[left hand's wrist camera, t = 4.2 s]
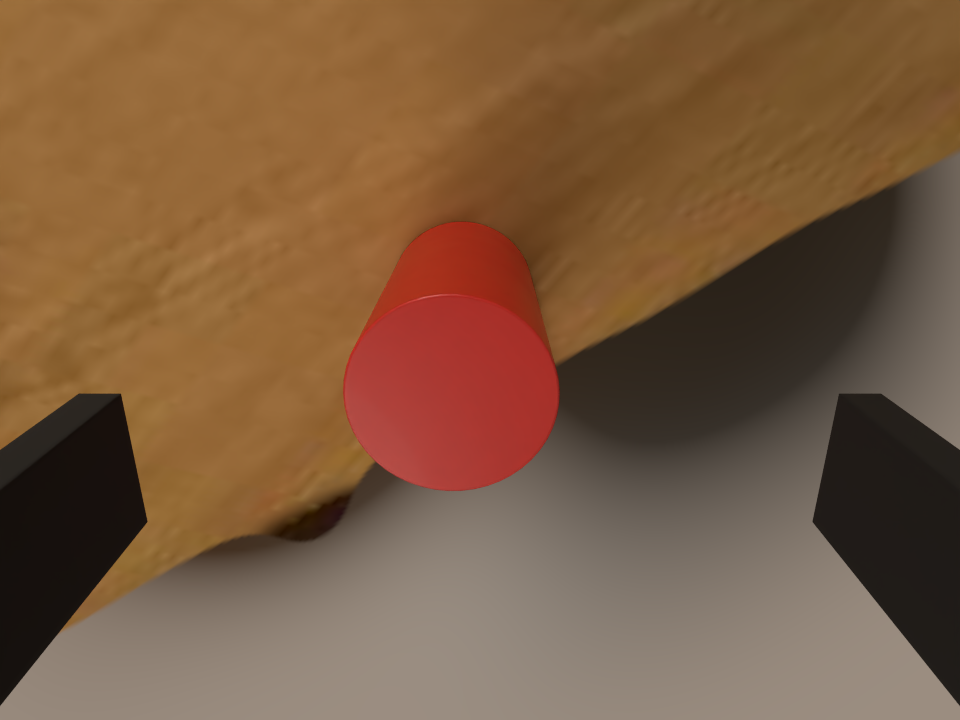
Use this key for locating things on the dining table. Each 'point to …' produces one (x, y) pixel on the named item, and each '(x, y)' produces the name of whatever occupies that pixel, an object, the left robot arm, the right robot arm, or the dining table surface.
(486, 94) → the dining table surface
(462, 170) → the dining table surface
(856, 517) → the left robot arm
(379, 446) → the canister
